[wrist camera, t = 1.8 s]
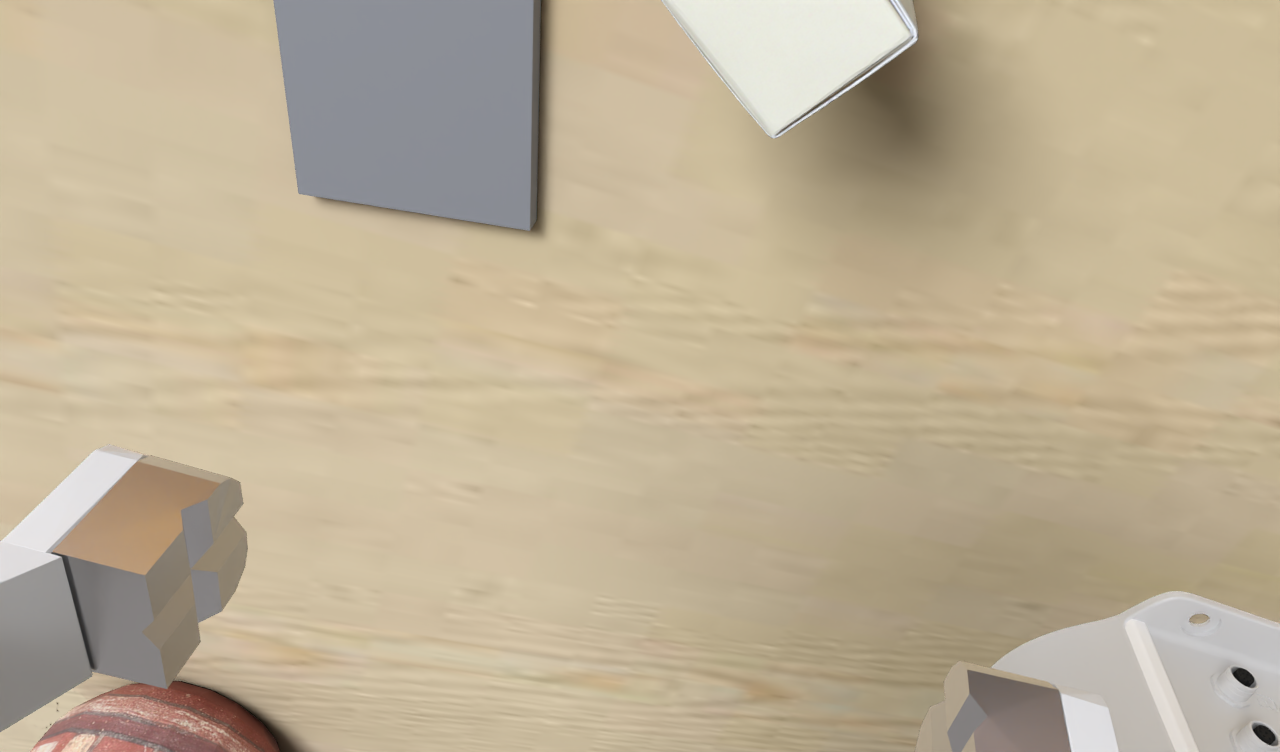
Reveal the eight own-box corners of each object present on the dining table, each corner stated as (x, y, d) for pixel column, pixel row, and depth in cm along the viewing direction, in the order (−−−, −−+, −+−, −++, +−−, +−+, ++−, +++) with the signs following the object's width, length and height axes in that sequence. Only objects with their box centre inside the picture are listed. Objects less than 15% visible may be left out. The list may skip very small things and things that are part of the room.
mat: (541, -33, 36) (533, -27, 35) (536, 220, 42) (529, 230, 41) (278, -67, 37) (265, -62, 36) (309, 184, 43) (298, 193, 42)
